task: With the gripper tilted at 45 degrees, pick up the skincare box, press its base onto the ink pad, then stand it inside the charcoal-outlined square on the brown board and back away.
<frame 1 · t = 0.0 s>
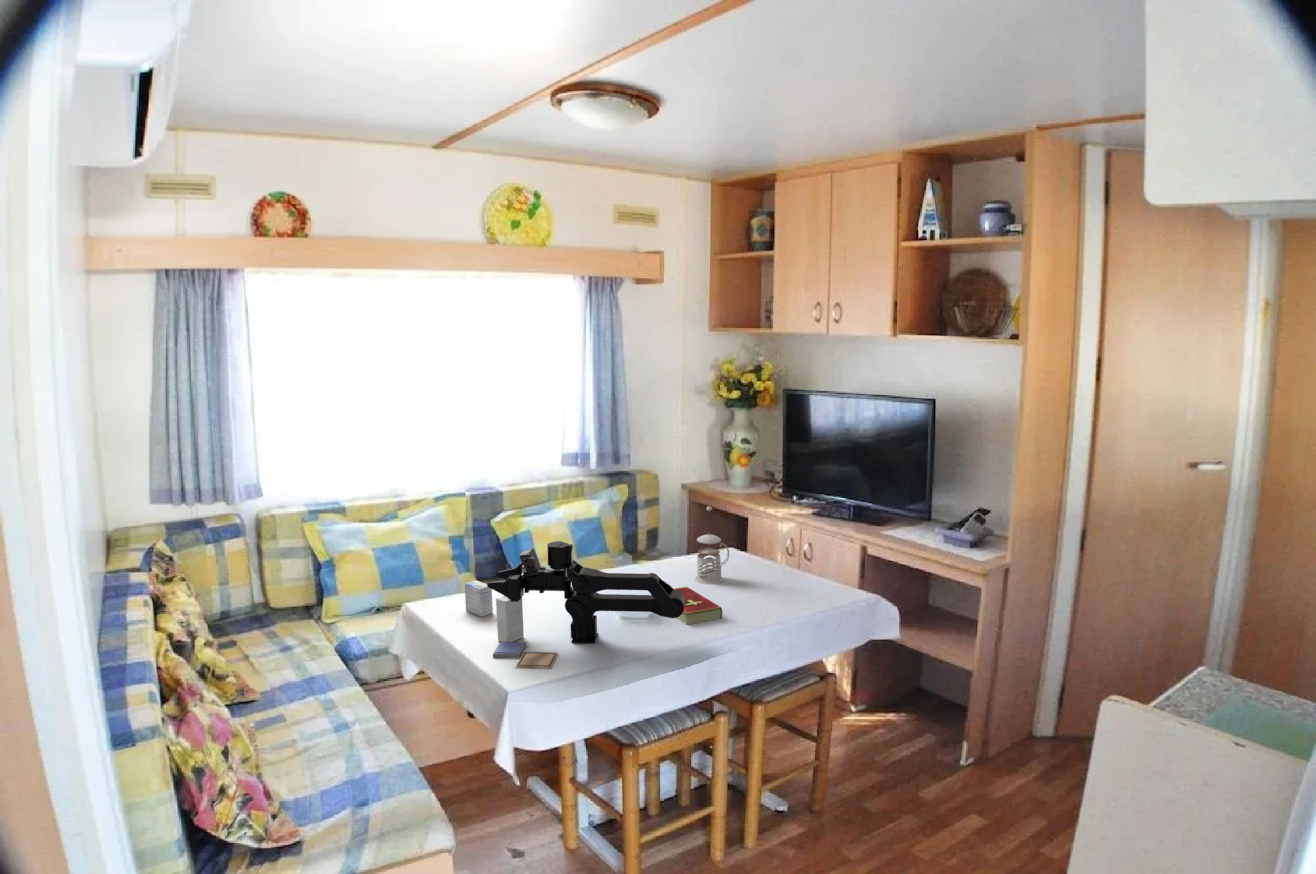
hand: (491, 579, 230), 17 cm above the table, tool horizontal, fingers open, 9 cm apart
french press: (711, 579, 281), on the table
ink pad: (510, 651, 222), on the table
marked board: (537, 660, 216), on the table
medicine box: (479, 613, 252), on the table
hardcover book: (687, 612, 252), on the table
skincare box: (510, 639, 231), on the table
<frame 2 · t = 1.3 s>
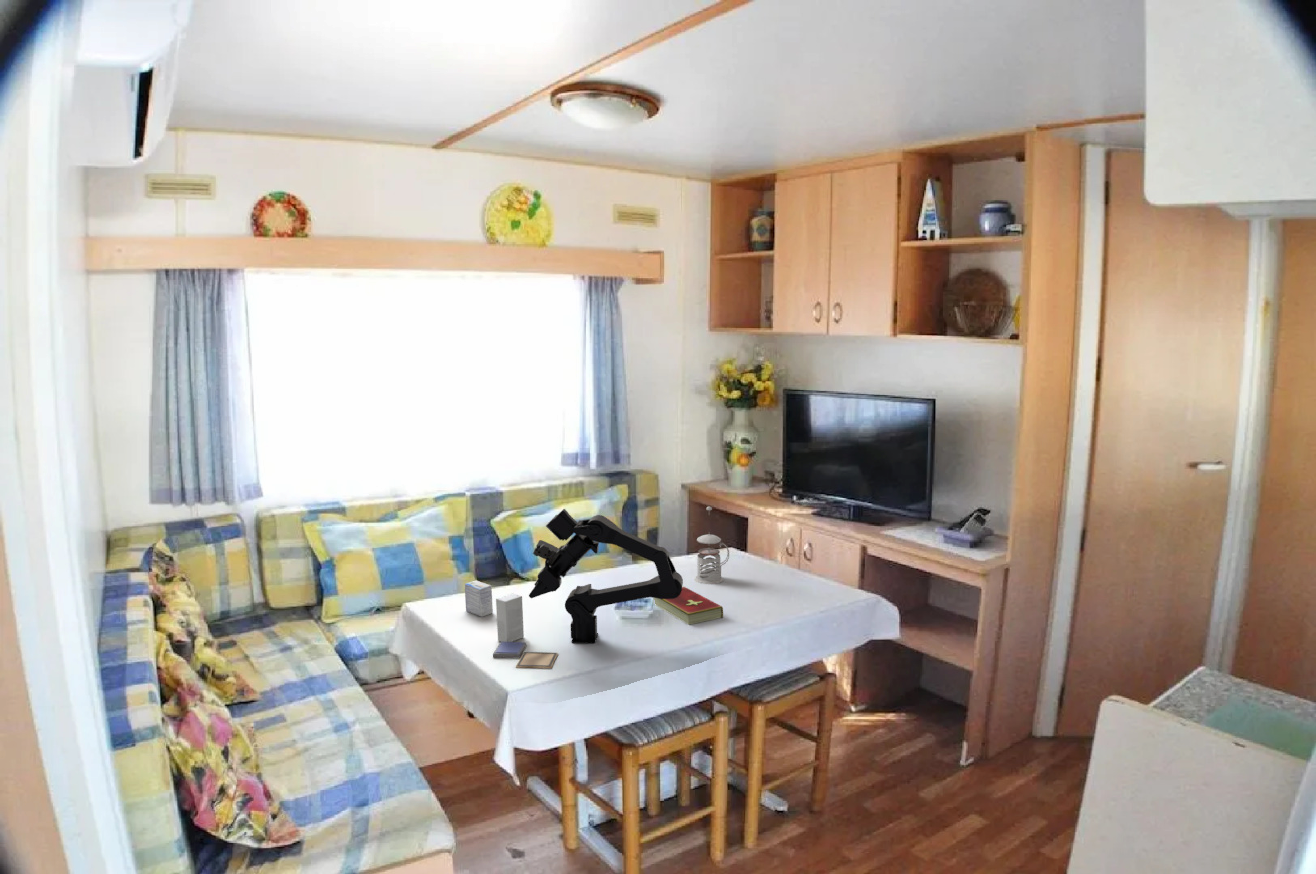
hand: (532, 591, 229), 14 cm above the table, tool tilted 45°, fingers open, 9 cm apart
nothing on the table moved.
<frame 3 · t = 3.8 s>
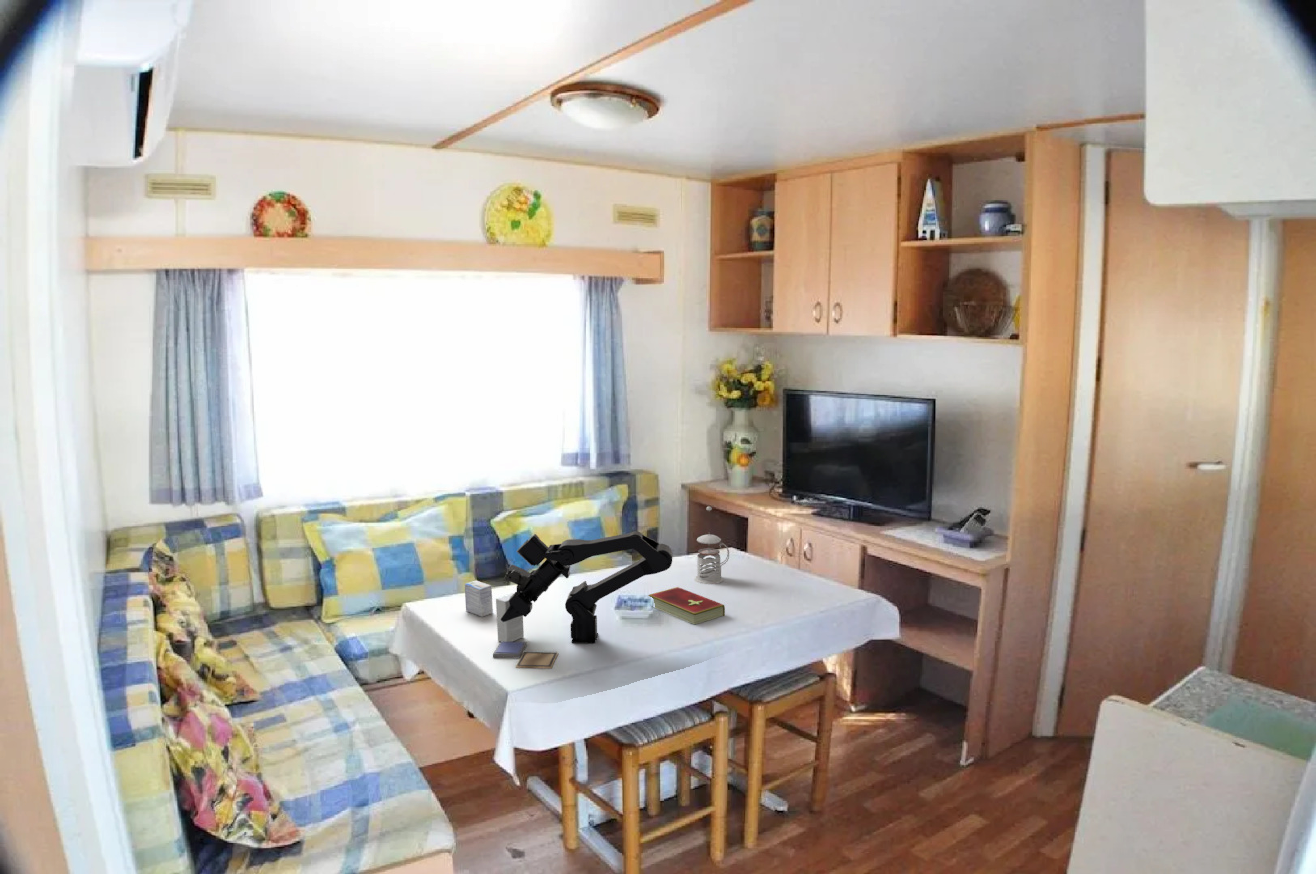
hand: (504, 615, 230), 7 cm above the table, tool tilted 45°, fingers closed on skincare box, 7 cm apart
skincare box: (510, 639, 231), on the table, touching gripper
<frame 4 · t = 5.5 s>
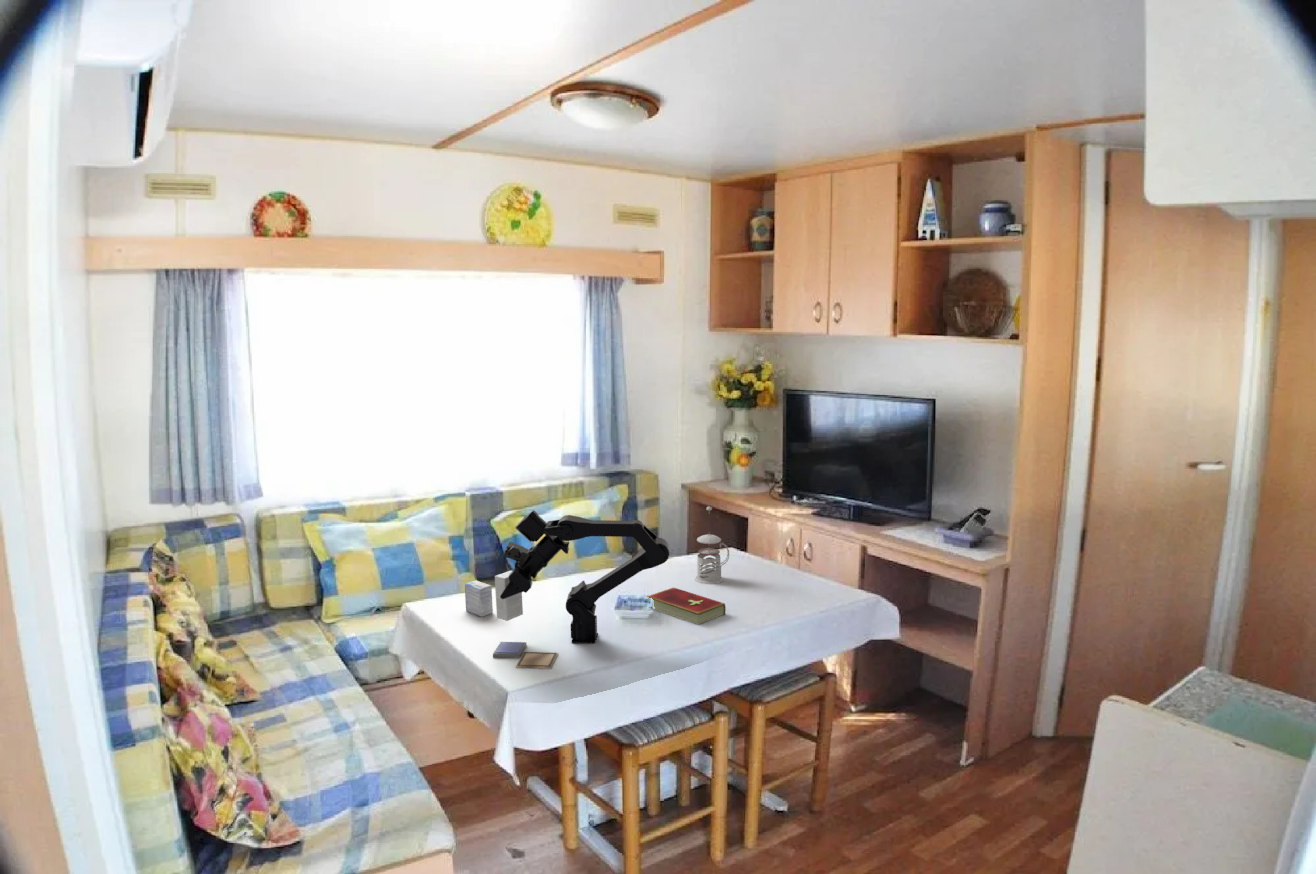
hand: (503, 593, 228), 13 cm above the table, tool tilted 45°, fingers closed on skincare box, 7 cm apart
skincare box: (509, 617, 229), point 7 cm above the table, touching gripper
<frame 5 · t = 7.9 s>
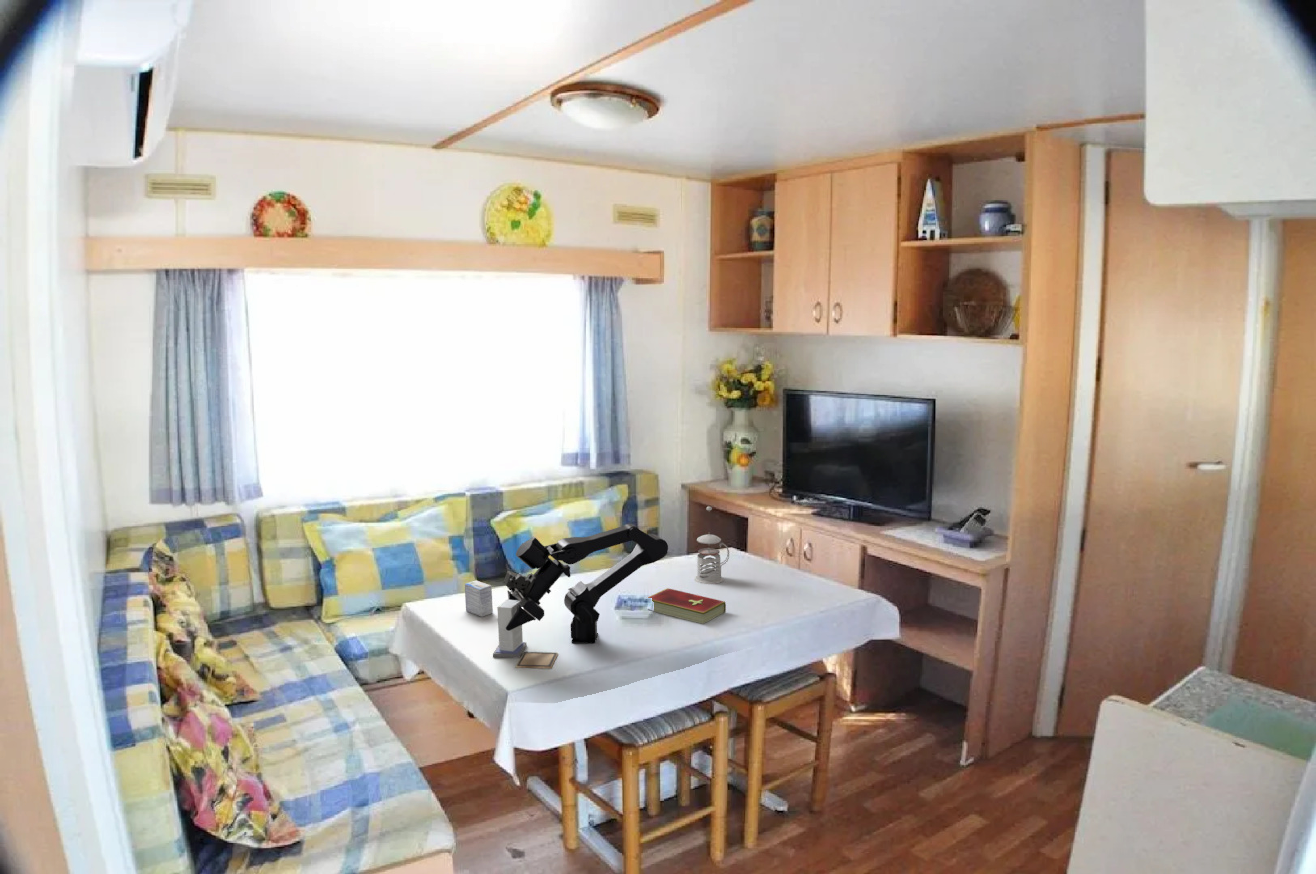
hand: (503, 625, 221), 8 cm above the table, tool tilted 45°, fingers closed on skincare box, 7 cm apart
skincare box: (510, 647, 222), point 1 cm above the table, touching gripper, ink pad
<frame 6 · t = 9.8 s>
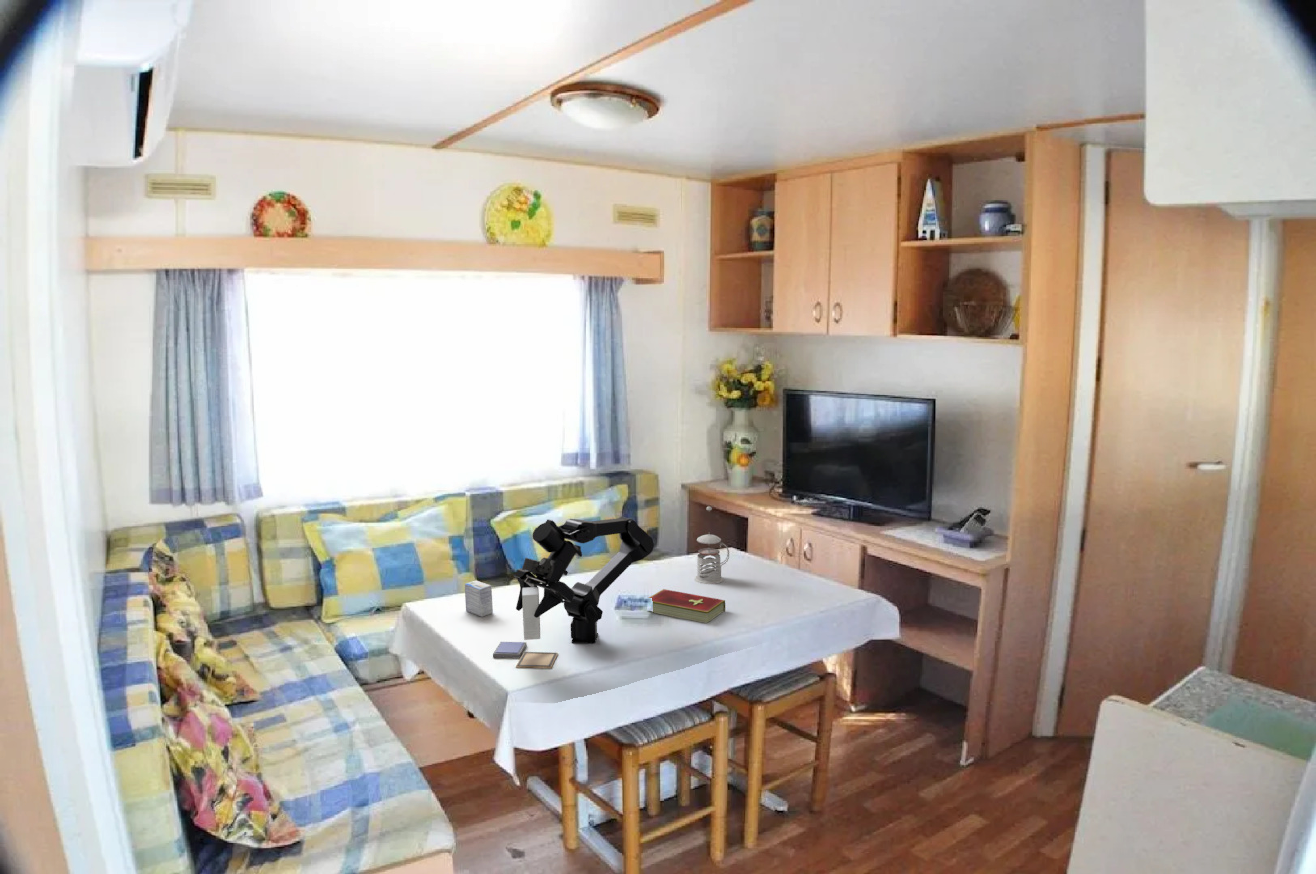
hand: (526, 613, 214), 13 cm above the table, tool tilted 45°, fingers closed on skincare box, 7 cm apart
skincare box: (532, 636, 217), point 6 cm above the table, touching gripper
when the fingers open (8 cm above the table, at t = 11.7 s): skincare box drops 1 cm, resting on marked board.
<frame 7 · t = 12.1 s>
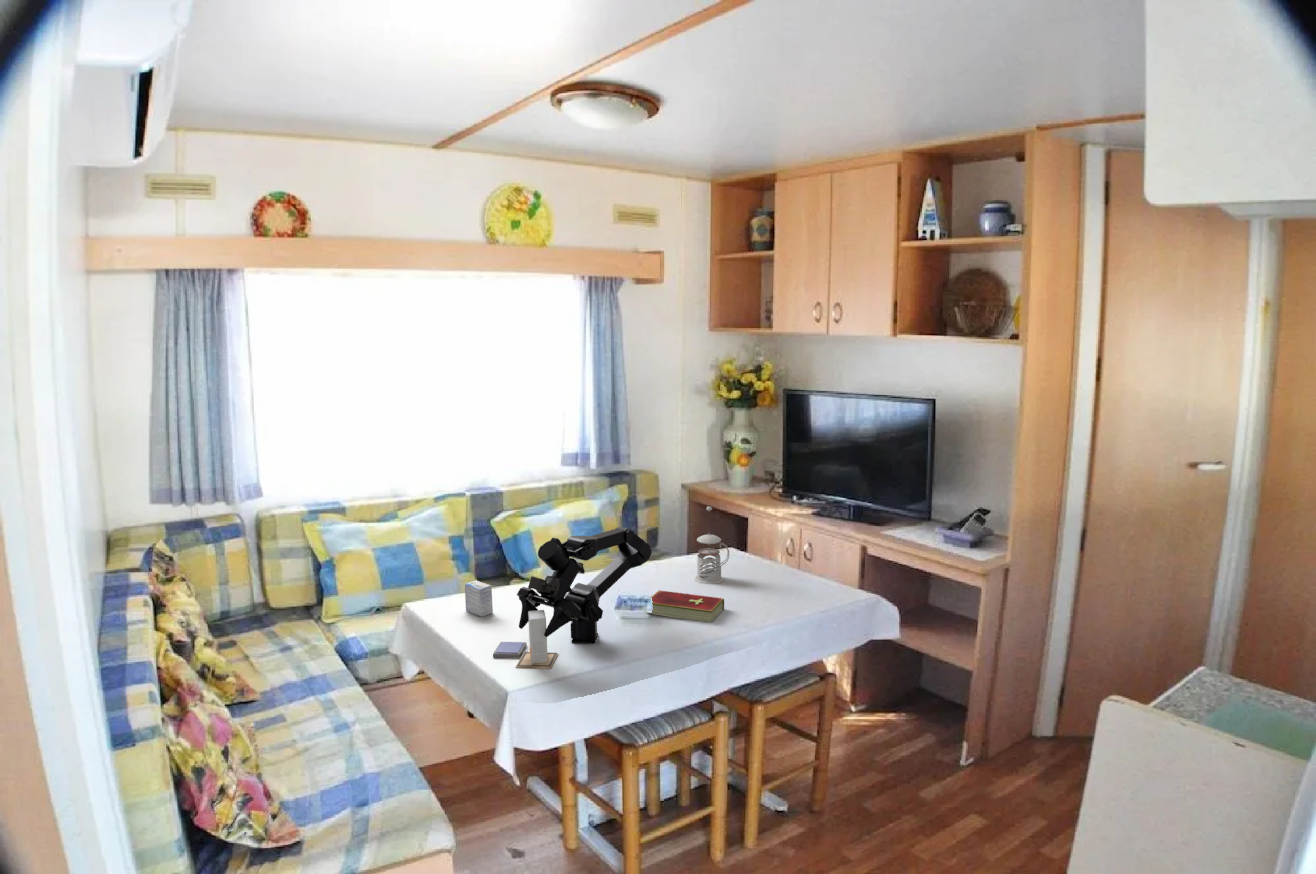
hand: (532, 632, 214), 8 cm above the table, tool tilted 45°, fingers open, 9 cm apart
skincare box: (538, 659, 217), resting on marked board
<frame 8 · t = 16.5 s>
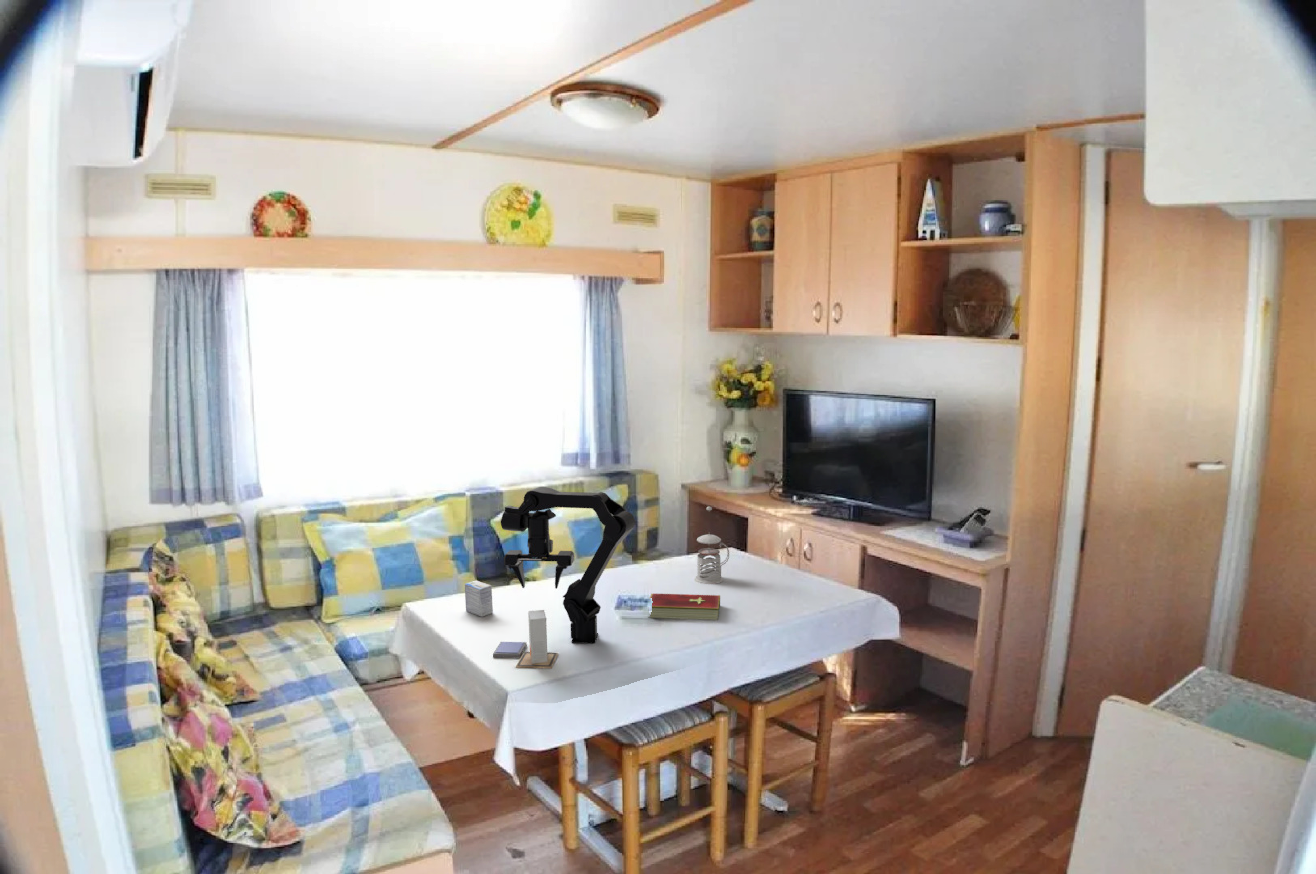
hand: (540, 587, 233), 13 cm above the table, tool pointing down, fingers open, 9 cm apart
at the end: skincare box inside the target area on the marked board (0.4 cm from its centre), point 0.3 cm above the marked board's base; skincare box tilted 1°; the gripper is holding nothing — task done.
